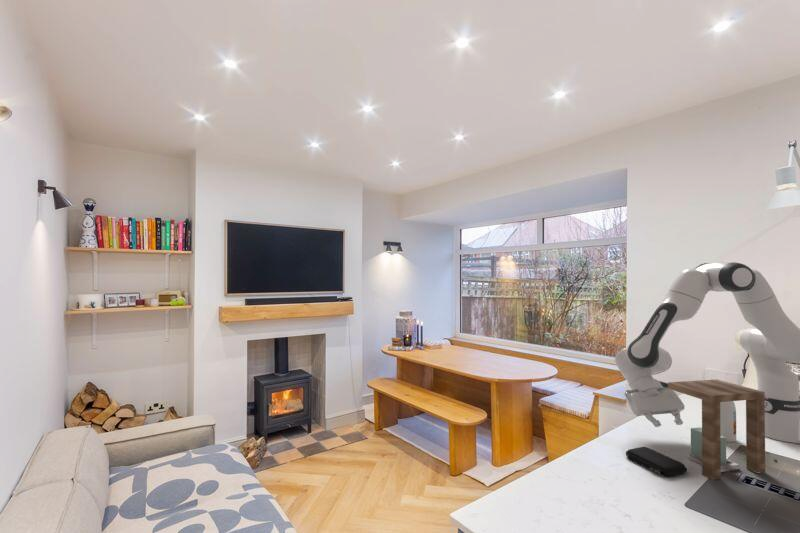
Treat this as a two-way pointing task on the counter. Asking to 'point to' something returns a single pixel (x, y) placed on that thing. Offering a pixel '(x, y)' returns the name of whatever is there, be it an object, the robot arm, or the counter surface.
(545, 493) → the counter surface
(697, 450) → the sage rectangular block
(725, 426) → the milk bottle
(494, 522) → the counter surface
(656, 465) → the carrying case or bag
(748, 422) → the walnut overhang shelf
